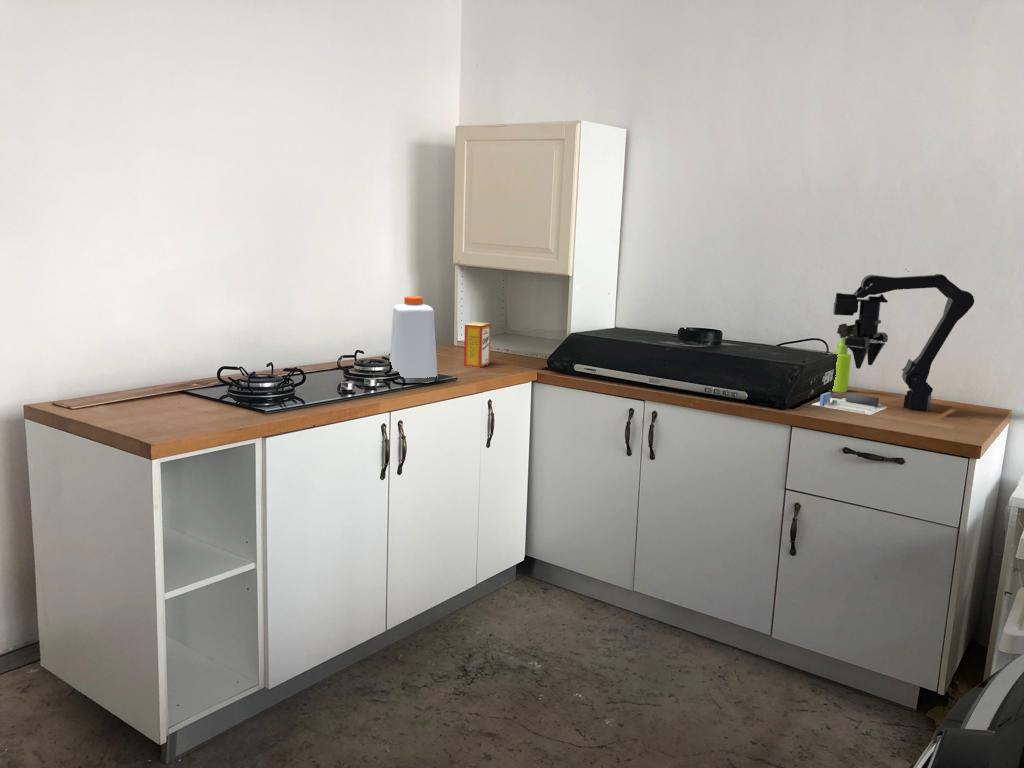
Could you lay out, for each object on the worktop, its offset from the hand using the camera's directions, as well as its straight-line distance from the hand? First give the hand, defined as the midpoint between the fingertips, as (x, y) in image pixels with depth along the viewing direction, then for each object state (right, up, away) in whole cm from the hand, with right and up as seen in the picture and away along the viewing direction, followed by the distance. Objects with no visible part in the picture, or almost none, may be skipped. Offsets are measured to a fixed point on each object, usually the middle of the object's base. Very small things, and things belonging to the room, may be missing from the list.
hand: (864, 366), depth 265 cm
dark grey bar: (0, -12, +1) cm, 12 cm away
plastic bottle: (-142, -4, +23) cm, 144 cm away
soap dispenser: (+1, -9, +24) cm, 25 cm away
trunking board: (-5, -13, 0) cm, 14 cm away
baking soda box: (-122, +1, +54) cm, 134 cm away
